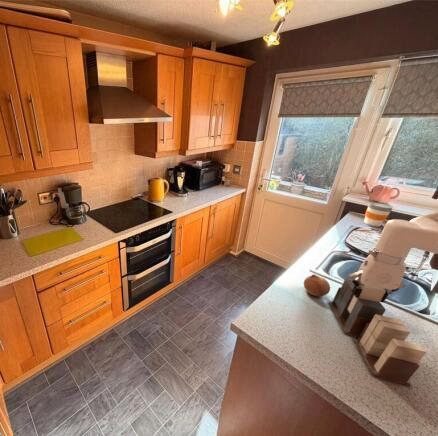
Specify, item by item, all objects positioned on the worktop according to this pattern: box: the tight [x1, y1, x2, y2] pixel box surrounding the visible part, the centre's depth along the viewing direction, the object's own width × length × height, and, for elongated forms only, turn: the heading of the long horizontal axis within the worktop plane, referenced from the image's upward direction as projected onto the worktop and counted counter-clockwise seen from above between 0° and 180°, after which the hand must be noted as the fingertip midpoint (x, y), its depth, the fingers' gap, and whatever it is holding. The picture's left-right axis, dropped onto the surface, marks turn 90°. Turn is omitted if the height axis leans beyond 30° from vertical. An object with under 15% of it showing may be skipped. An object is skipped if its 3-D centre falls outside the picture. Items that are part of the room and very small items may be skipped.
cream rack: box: [353, 314, 427, 386], centre depth 73 cm, size 9×13×14 cm
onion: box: [303, 273, 331, 298], centre depth 102 cm, size 10×9×10 cm
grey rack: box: [328, 278, 387, 338], centre depth 88 cm, size 9×16×14 cm, turn 162°
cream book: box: [348, 285, 386, 313], centre depth 84 cm, size 6×2×13 cm, turn 72°
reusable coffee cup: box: [363, 201, 393, 227], centre depth 166 cm, size 13×13×15 cm
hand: (367, 297), depth 83 cm, fingers closed on cream book, 6 cm apart
